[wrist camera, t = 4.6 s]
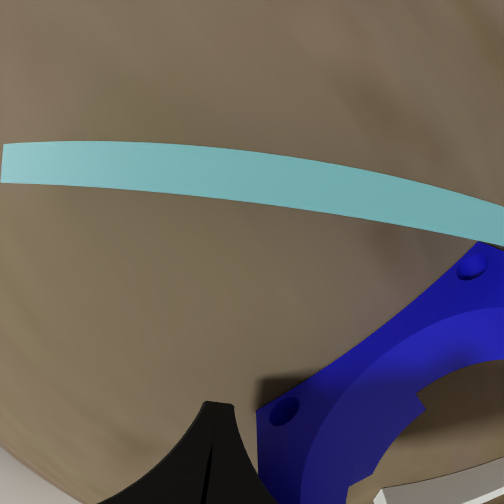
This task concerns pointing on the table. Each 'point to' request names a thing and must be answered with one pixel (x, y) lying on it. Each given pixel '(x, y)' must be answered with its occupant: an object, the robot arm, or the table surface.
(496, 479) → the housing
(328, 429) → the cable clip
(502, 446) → the table surface
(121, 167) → the gate
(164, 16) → the table surface
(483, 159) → the table surface
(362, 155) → the table surface
